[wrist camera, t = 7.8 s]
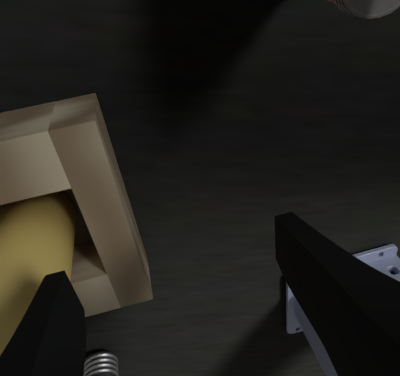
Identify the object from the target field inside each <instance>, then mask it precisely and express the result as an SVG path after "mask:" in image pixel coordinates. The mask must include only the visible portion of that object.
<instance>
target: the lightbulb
mask: <svg viewBox="0 0 400 376" xmlns="http://www.w3.org/2000/svg"><path fill="white" fill-rule="evenodd" d="M84 376H119V374H118V358H117V356H116V355H115V354H113V353H111V352H107V351H99V352H96V353H93V354H91V355H89V356H88V357H87V358H86V359H85V363H84Z"/></svg>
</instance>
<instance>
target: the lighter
mask: <svg viewBox="0 0 400 376" xmlns="http://www.w3.org/2000/svg"><path fill="white" fill-rule="evenodd" d="M326 1H329V2H333V3H335V4H336V5H337V6H338V7H339V8H340V9H341V10H342V11H344V12H347V13H350V14H353V15H356V16H360V17H363V18H366V19H368V18H379V17H382V16H384V15H387V14H389V13H391V12H393V11H394V10H396V9H397V8H398V7H399V6H400V0H326Z"/></svg>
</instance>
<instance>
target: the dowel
mask: <svg viewBox="0 0 400 376" xmlns="http://www.w3.org/2000/svg"><path fill="white" fill-rule="evenodd" d="M76 218H77V211H76V207H75V205H74V203H73V201H72V200H71V199H70V198H69V197H68V196H67V195H66V194H65V193H63V192H62V191H58V192H54V193H49V194H45V195H41V196H37V197H32V198H28V199H24V200H20V201H15V202H11V203H7V204H3V205H2V207H1V210H0V355H1V354H2V352H3V351H4V349H5V347H6V346H7V344H8V343H9V341H10V339H11V337H12V336H13V334H14V332H15V330H16V329H17V327H18V325H19V323H20V322H21V320H22V318H23V316H24V314H25V313H26V311H27V309H28V307H29V305H30V303H31V301H32V299H33V298H34V296H35V294H36V292H37V290H38V288H39V286H40V284H41V282H42V280H43V278H44V277H45V275H48V274H52V273H56V272H60V271H64V270H65V272H66V274H67V276H68V278H69V280H70V281H71V271H72V260H73V250H74V239H75V228H76Z"/></svg>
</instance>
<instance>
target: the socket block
mask: <svg viewBox="0 0 400 376" xmlns="http://www.w3.org/2000/svg"><path fill="white" fill-rule="evenodd" d="M58 191H62V192H63V193H65V194H66V195H67V196H68V197H69V198H70V199H71V200H72V201H73V203H74V205H75V207H76V211H77V218H76V228H75V239H74V250H73V260H72V271H71V281H70V282H71V284H72V286H73V288H74V290H75V292H76V294H77V296H78V298H79V300H80V302H81V304H82V306H83V308H84V311H85V317H88V316H92V315H96V314H99V313H103V312H107V311H110V310H114V309H118V308H121V307H125V306H129V305H132V304H136V303H140V302H143V301H147V300H151V299H153V294H152V288H151V281H150V274H149V268H148V261H147V257H146V253H145V250H144V247H143V244H142V241H141V237H140V234H139V231H138V228H137V225H136V221H135V218H134V215H133V212H132V208H131V205H130V202H129V199H128V196H127V192H126V189H125V186H124V183H123V180H122V176H121V173H120V170H119V167H118V163H117V160H116V157H115V154H114V151H113V147H112V144H111V141H110V138H109V135H108V131H107V128H106V125H105V122H104V118H103V115H102V112H101V109H100V106H99V102H98V99H97V96H96V93H93V94H88V95H84V96H79V97H74V98H69V99H65V100H60V101H55V102H50V103H46V104H41V105H36V106H31V107H27V108H22V109H17V110H12V111H8V112H3V113H0V210H1V207H2V205H3V204H7V203H11V202H15V201H20V200H24V199H28V198H32V197H37V196H41V195H45V194H49V193H54V192H58Z"/></svg>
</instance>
